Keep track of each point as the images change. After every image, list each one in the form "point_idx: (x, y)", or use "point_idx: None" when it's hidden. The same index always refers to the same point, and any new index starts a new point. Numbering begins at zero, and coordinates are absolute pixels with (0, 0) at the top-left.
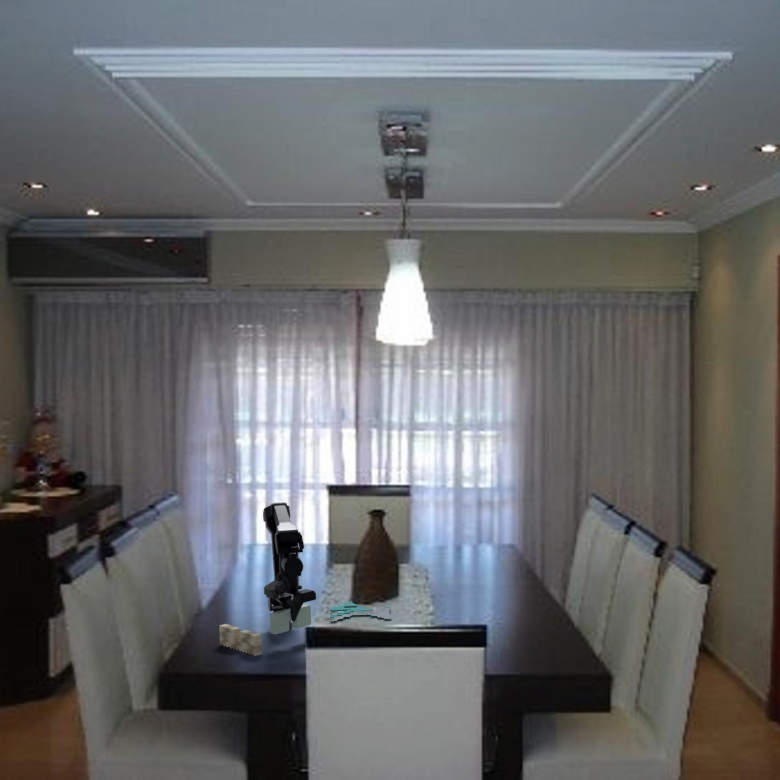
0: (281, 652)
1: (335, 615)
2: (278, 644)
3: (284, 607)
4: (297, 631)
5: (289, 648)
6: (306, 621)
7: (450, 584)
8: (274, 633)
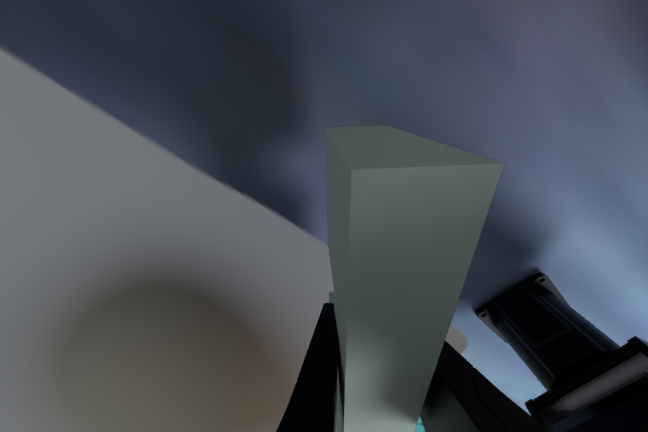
0: (266, 114)
1: (419, 421)
2: None
3: (453, 400)
4: None
5: (295, 183)
6: None
7: None
8: (337, 127)
